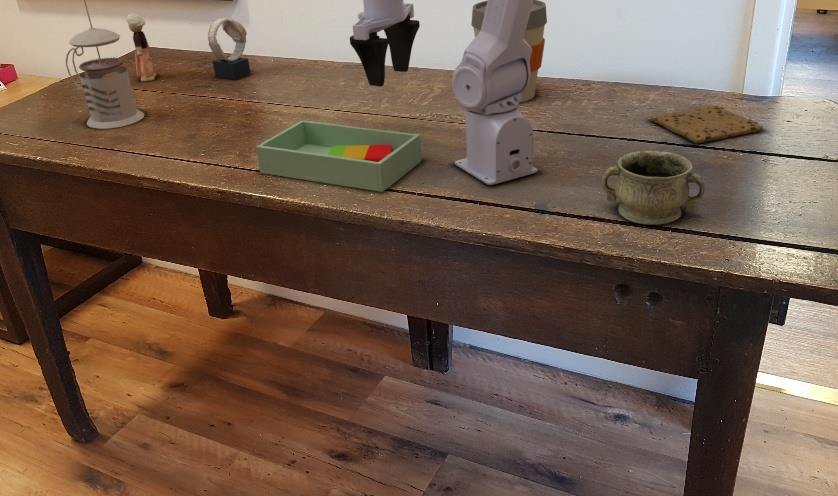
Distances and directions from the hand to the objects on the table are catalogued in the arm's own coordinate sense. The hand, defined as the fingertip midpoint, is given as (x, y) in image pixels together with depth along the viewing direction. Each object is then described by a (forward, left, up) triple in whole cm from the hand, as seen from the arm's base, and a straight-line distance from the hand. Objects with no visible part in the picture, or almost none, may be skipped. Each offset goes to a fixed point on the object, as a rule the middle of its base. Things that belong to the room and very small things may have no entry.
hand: (389, 78), depth 119 cm
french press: (+39, +36, -10) cm, 54 cm away
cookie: (-24, -41, -9) cm, 48 cm away
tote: (-6, +12, -9) cm, 16 cm away
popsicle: (-6, +12, -9) cm, 16 cm away
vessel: (-42, -14, -10) cm, 45 cm away
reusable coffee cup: (+7, -26, -10) cm, 29 cm away
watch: (+52, +10, -10) cm, 54 cm away
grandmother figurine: (+61, +25, -10) cm, 67 cm away
